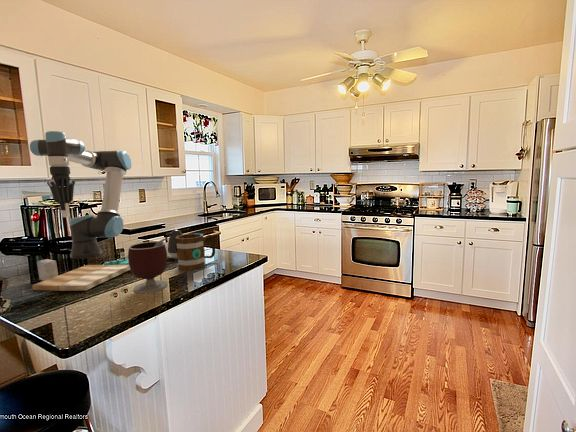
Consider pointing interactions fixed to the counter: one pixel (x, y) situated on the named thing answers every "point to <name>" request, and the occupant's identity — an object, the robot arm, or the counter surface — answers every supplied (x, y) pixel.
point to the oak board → (66, 277)
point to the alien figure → (118, 262)
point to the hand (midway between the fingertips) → (66, 216)
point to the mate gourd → (148, 264)
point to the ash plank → (94, 278)
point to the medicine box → (47, 269)
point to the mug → (192, 251)
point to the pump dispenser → (173, 243)
